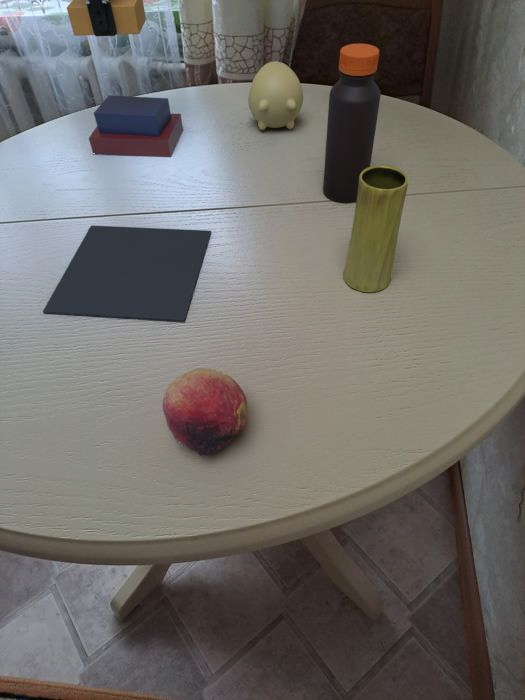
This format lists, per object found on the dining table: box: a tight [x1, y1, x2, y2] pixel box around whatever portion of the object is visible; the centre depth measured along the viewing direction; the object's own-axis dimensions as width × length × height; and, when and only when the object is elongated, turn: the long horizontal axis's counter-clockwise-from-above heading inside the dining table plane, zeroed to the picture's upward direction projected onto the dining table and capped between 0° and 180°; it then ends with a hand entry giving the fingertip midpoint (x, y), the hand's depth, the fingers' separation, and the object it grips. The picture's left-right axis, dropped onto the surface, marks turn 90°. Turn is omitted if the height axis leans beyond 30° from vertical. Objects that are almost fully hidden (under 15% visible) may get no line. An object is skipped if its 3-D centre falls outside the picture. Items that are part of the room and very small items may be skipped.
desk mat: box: [42, 225, 212, 323], centre depth 67 cm, size 18×18×1 cm
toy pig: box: [247, 61, 304, 131], centre depth 90 cm, size 10×12×11 cm
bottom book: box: [88, 113, 184, 158], centre depth 90 cm, size 14×10×3 cm
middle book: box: [93, 94, 172, 137], centre depth 87 cm, size 11×7×4 cm, turn 80°
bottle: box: [322, 43, 382, 204], centre depth 70 cm, size 7×7×20 cm
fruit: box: [162, 367, 248, 456], centre depth 47 cm, size 8×8×8 cm
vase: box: [342, 164, 409, 293], centre depth 59 cm, size 6×6×14 cm
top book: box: [66, 0, 147, 37], centre depth 73 cm, size 10×7×4 cm
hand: (110, 25), depth 74 cm, fingers closed on top book, 6 cm apart
